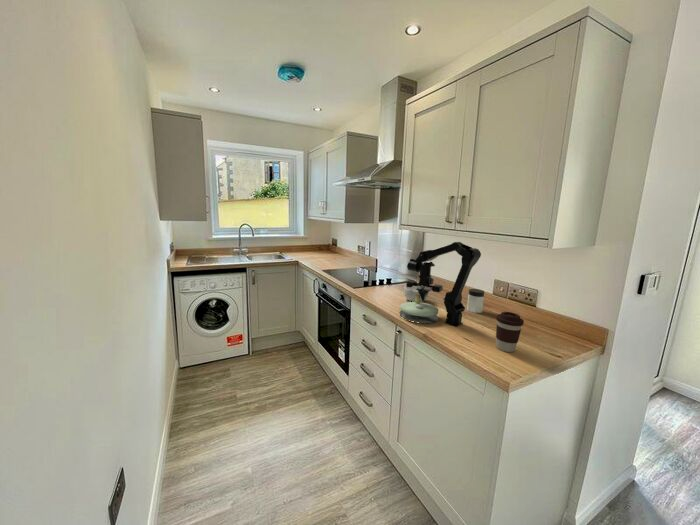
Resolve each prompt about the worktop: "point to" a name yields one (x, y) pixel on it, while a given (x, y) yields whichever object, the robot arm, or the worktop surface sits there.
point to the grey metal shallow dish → (419, 318)
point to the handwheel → (419, 308)
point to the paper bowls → (412, 293)
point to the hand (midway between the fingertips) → (423, 301)
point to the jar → (475, 300)
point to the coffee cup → (508, 331)
